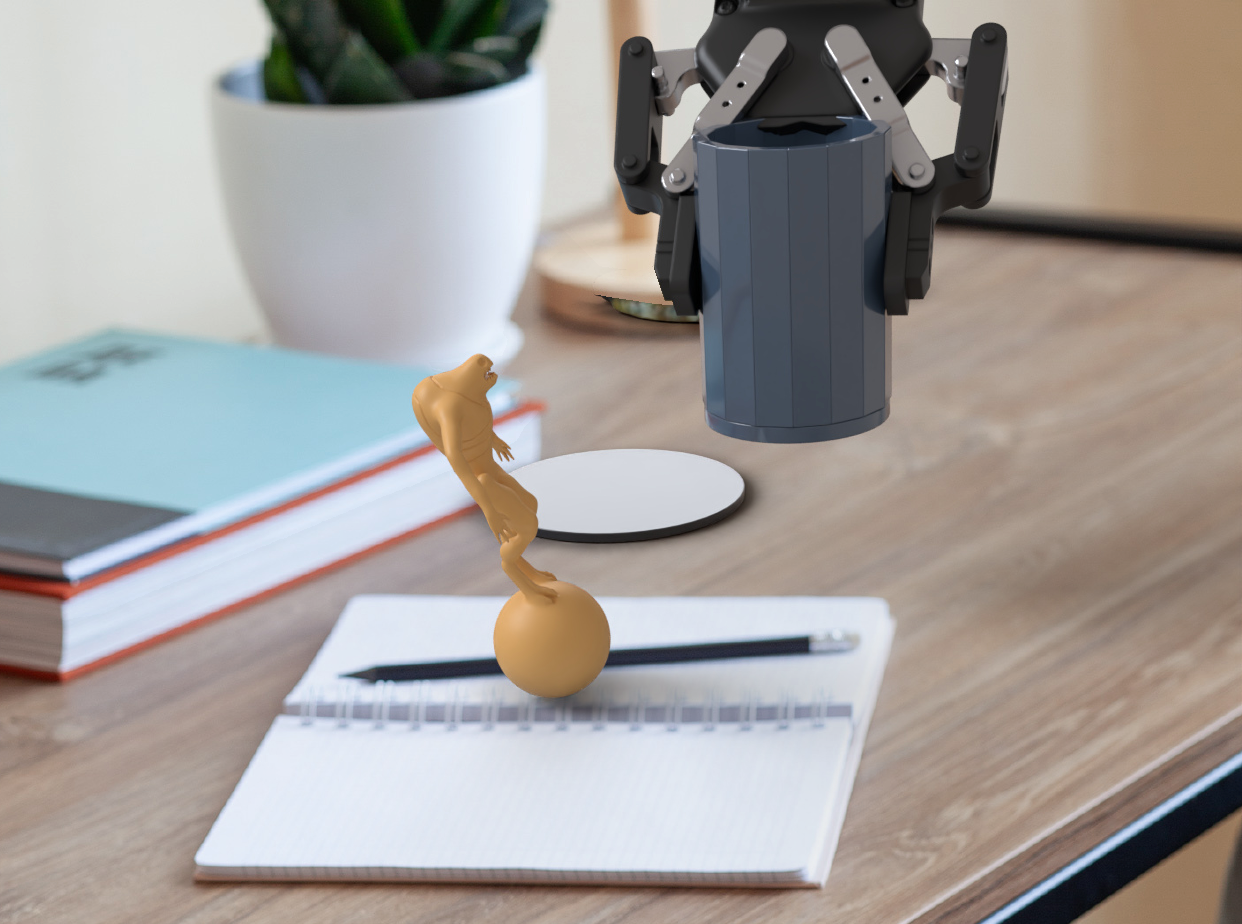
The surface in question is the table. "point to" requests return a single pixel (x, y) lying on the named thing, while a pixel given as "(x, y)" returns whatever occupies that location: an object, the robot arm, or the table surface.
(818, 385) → the cup
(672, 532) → the coaster
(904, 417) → the table surface
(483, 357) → the figurine
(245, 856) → the table surface
